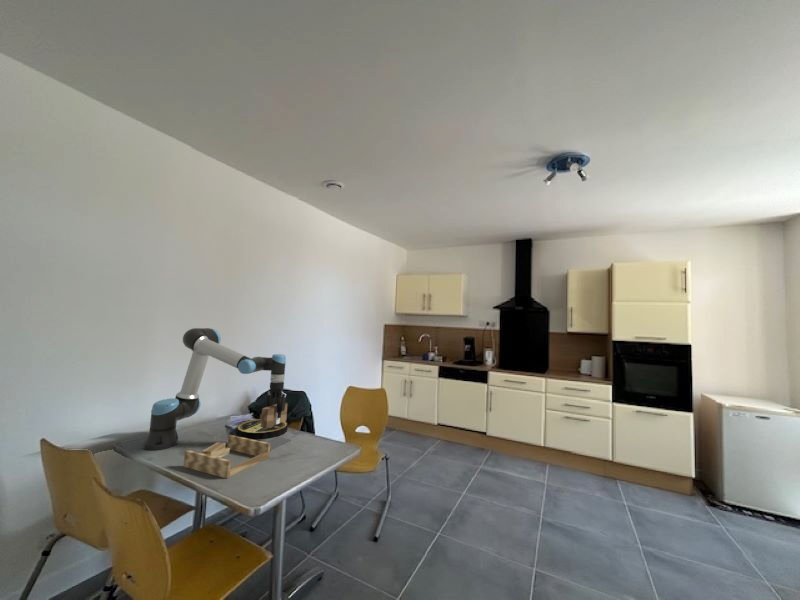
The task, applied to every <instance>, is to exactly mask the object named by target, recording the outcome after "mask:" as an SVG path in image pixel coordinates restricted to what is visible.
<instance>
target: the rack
mask: <svg viewBox="0 0 800 600" xmlns="http://www.w3.org/2000/svg"><path fill="white" fill-rule="evenodd" d="M226 448H230V451H233V452H237V453H238V452H239V453H243V454H247V455H250V456H252V457H251V458H250V459H247V460H244V461H243V462H241V463H238V464H236V465H234V466H232V460H230V459H226V458H223V457H220V458H219V457H215V456H211V455H207V454H203V453H202V452H198V451H194V450H190V449H187V450H185V451H184V459H183V468H188V469H191V470H194V471H198V472H202V473H205V474H209V475H213V476H217V477H220V478H224V479H229V478H230V477H233V476H235V475H236V474H238V473H241V472H243V471H245V470H247V469H249V468H251V467H253V466H256V465H257V464H259V463H261V462H263V461H265V460H267V459H269V458H270V452H271V450H270V443H267V441H261V440H253V439H248V438H243V437H238V436H237V435H234V434H233V435H232V434H229V435H228V439H227V447H226ZM231 466H232V467H231Z"/></svg>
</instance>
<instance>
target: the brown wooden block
mask: <svg viewBox="0 0 800 600" xmlns="http://www.w3.org/2000/svg"><path fill="white" fill-rule="evenodd" d="M276 412H277V403H276V404H275V403H274V405H272V406H269V407H266V406H265V407H263V408H262V409H261V418H260V419H261V427H263V428H268V427H271V426H273V425H276V424H275V420H276ZM287 414H288V402H285V410H284V411H282V412H281V418H280V423H281V422H284V421H286V422H287V419H288V418H287V417H288V415H287Z"/></svg>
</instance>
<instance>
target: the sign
mask: <svg viewBox="0 0 800 600" xmlns="http://www.w3.org/2000/svg"><path fill="white" fill-rule="evenodd" d="M288 426H289V423H288V422H287V420H286V421H284V422H281V423H279V424H276V425H273V426H271V427H268V428H263V427H261V418H260V419H253V420H247V421H244V422H241V423H239V424H238V425H237V427H236V431H235V432H236V433H235V434H236V436H238V437H243V438H248V439H253V440H257V441H259V440H267V439H268V440H270V439H274V438H276V437H281V436H283V435H285V434H286V433H287V432H288V429H289V428H288Z"/></svg>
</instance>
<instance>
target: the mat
mask: <svg viewBox="0 0 800 600" xmlns="http://www.w3.org/2000/svg"><path fill="white" fill-rule="evenodd" d="M291 441H292V439H289V438H285V437H281V436H278V437H274V438H270V439H268V440H267V441H266V442H267V443H270V451H272V450H274V449H277V448H278V447H280V446H283V445H285V444H286V443H289V442H291Z"/></svg>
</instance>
